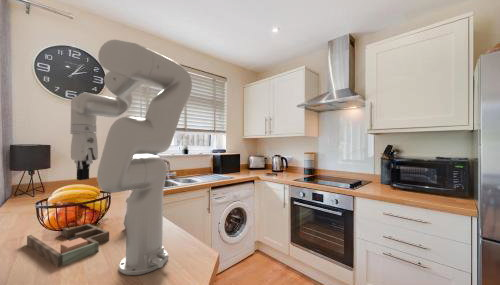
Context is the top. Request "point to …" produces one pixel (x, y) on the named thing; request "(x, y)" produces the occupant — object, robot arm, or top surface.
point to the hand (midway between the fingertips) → (82, 179)
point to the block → (73, 245)
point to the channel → (84, 232)
